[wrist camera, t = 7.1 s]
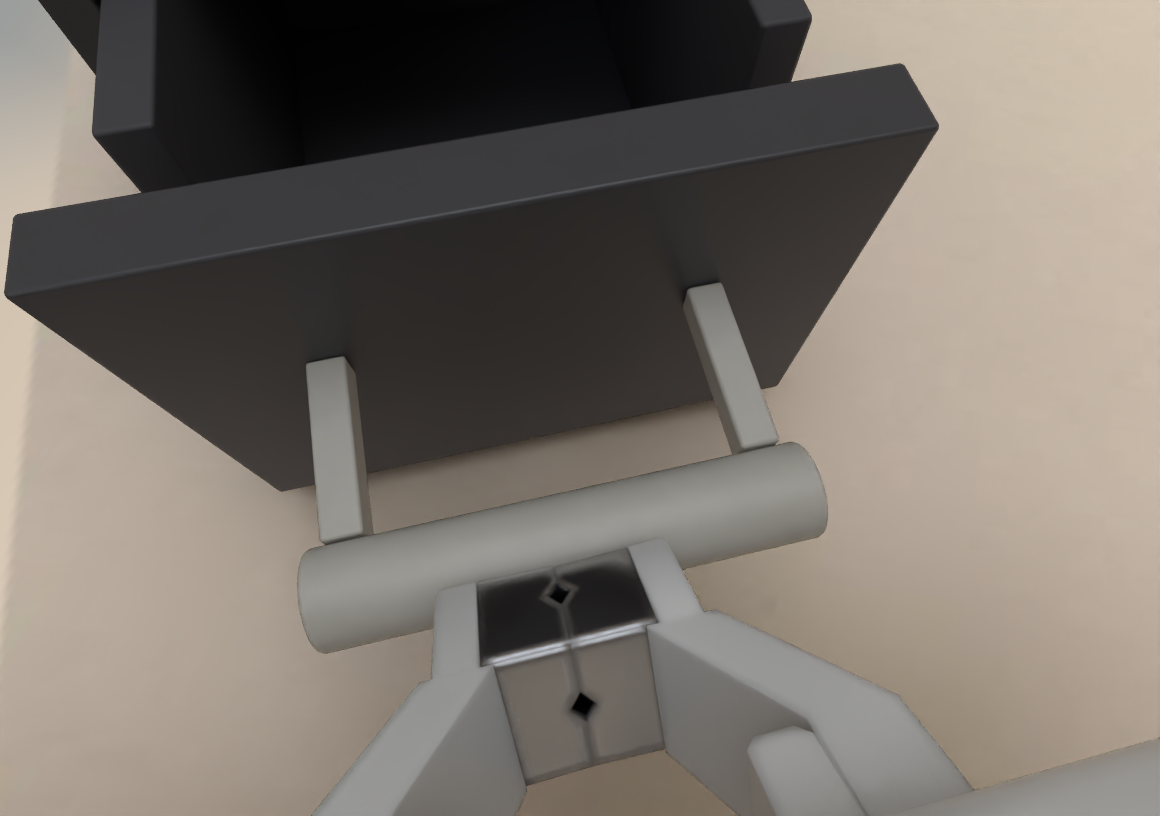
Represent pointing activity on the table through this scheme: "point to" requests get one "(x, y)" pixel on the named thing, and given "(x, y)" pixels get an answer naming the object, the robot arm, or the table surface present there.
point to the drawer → (471, 258)
